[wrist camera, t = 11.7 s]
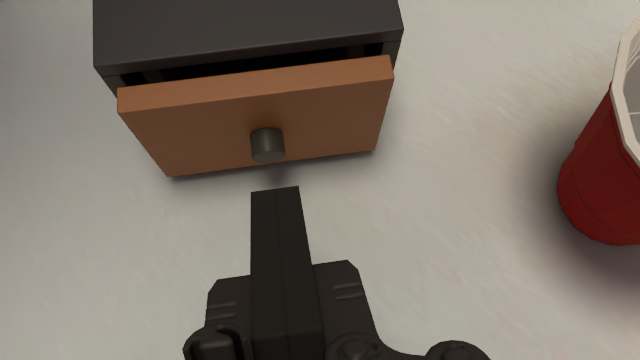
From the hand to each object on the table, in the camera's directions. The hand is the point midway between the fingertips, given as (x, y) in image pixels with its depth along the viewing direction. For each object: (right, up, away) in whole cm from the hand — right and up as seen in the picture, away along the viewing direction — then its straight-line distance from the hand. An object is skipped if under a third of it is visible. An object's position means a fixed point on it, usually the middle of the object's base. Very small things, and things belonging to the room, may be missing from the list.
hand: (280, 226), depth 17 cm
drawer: (-2, +8, +14) cm, 16 cm away
